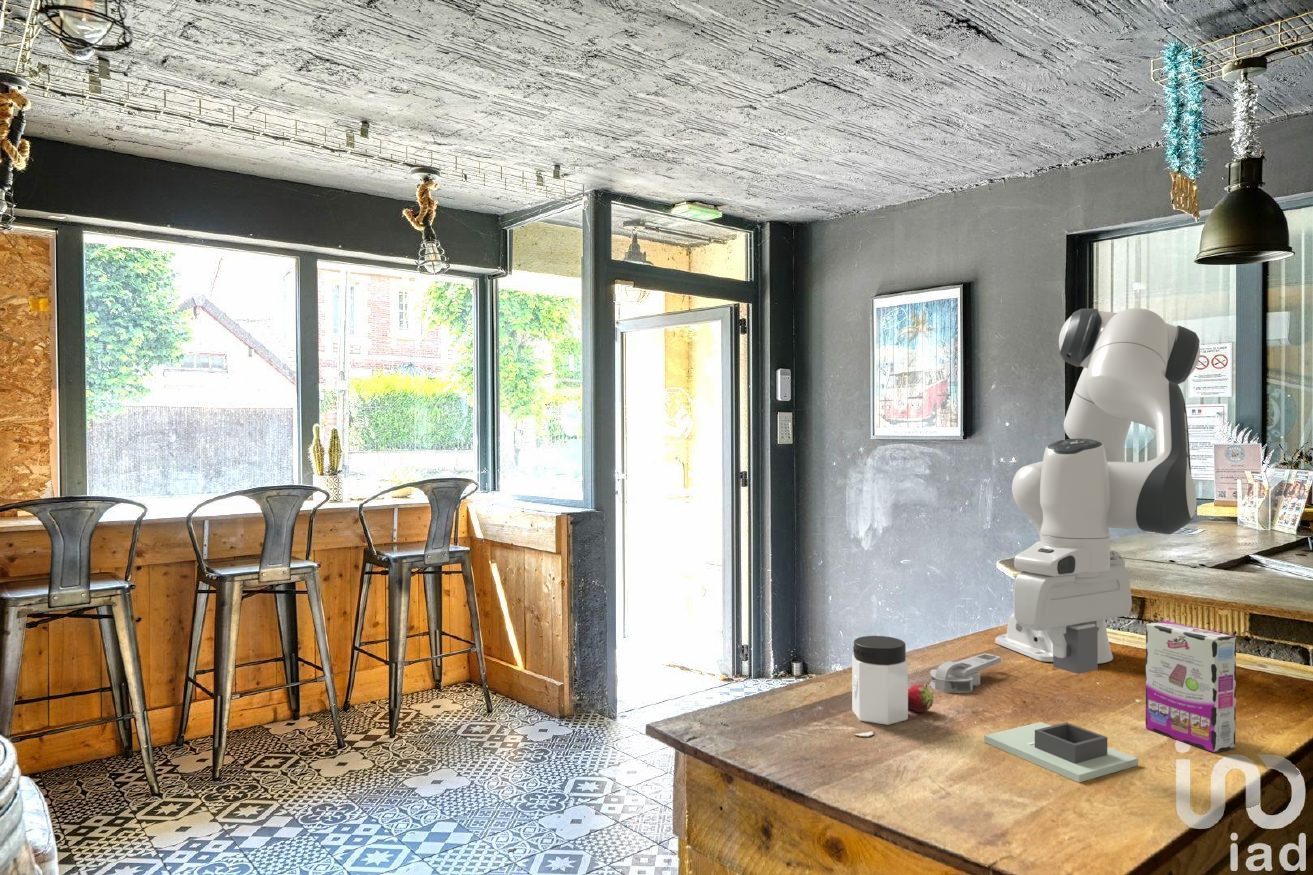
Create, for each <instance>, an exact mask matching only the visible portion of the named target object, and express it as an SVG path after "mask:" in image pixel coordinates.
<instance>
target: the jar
mask: <svg viewBox="0 0 1313 875" xmlns="http://www.w3.org/2000/svg"><path fill="white" fill-rule="evenodd" d="M906 646H907V645H906V643H905V641H903V640H902V639H899V638H896V637H893V636H892V637H891V636H884V635H865V636H860V637H857V638H855V639H854V641H853V648H852V649H853V650H852V652H853V654H852V655H851V687H852V688H851V697H852V699H851V701H852V703H851V709H852V712H853V713H854V715H855V716H856V718H857V719H858V720H859V721H860V722H865V723H866V722H867V723H870V724H871V723H874V724H880V725H883V726H884V725H885V726H889V725H893V724H897V723H900V722H903V721H904V722H905V721H907V720H909V708H908V689H909V662H908V660H907V659H906V658H907V657H906V656H907V654H906V652H907V651H906V650H907V649H906V648H907V647H906Z"/></svg>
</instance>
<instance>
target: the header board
mask: <svg viewBox="0 0 1313 875" xmlns="http://www.w3.org/2000/svg"><path fill="white" fill-rule="evenodd" d="M983 737H984V738H983V742H984V743H985V744H988V745H990V746H993V747H995V748H998V749H1000V750H1002V751H1004V752H1006V753H1009V754H1011V755H1014V756H1016V757H1019V758H1021V759H1023V760H1025V761H1028V762H1030V763H1032V764H1035V765H1037V766H1040V767H1041V768H1044V769H1047V770H1049V771H1051V772H1053V773H1055V774H1057V775H1060V776H1061V777H1062V776H1063V777H1065V778H1068V779H1070V780H1072V781H1074V782H1076V783H1082V782H1085V781H1088V780H1093V779H1096V778H1098V777H1103V776H1107V775H1110V774H1112V773H1116V772H1120V771H1123V770H1124V771H1125V770H1128V769H1130V768H1134V767H1137V766H1139V758H1138V757H1136V756H1133V755H1130V754H1129V753H1127V752H1123V751H1120V750H1118V749H1115V748H1112V747H1110V746H1108V736H1106V735H1102V734H1099V733H1097V732H1094V731H1091V730H1090V729H1085V728H1083V727H1081V726H1077V725H1074V724H1072V723H1069V722H1062V723H1058V724H1054V725H1050V724H1049V723H1045V722H1043V721H1039V722H1034V723H1031V724H1027V725H1022V726H1017V727H1013V728H1009V729H1005V730H1002V731H997V732H993V733H988V734H985V735H983Z"/></svg>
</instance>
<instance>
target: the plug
mask: <svg viewBox="0 0 1313 875" xmlns="http://www.w3.org/2000/svg"><path fill="white" fill-rule="evenodd" d="M1063 635H1064V638H1065V641H1066V643H1067V644H1070V645H1071V650H1070V652H1071V655H1070V656H1069V657H1065V658H1059V657H1056V656H1054V655H1053V662H1052V663H1053V665H1052V666H1053V668H1055V669H1056V668H1057V669H1060V670H1062V671H1066V672H1070V673H1074V674H1077V675H1080V674H1084V673H1090V672H1094V671H1098V667H1099V666H1098V665H1099V663H1098V631H1097V627H1096V626H1095V624H1093V623H1089V622H1087V623H1081V624H1075V625H1070V626H1066V634H1063Z"/></svg>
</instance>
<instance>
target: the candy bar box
mask: <svg viewBox="0 0 1313 875" xmlns="http://www.w3.org/2000/svg"><path fill="white" fill-rule="evenodd" d="M1236 681H1237V636H1236V635H1231V634H1226V633H1222V632H1217V631H1213V630H1209V629H1203V628H1199V627H1195V626H1190V625H1185V624H1181V623H1177V622H1172V621H1167V620H1165V621H1157V622H1151V623H1150V622H1149V623H1146V624H1145V729H1147V730H1149V731H1152V732H1154V733H1157V734H1160V735H1163V736H1166V737H1168V738H1171V739H1175V740H1176V741H1180V742H1183V743H1186V744H1189V745H1191V746H1194V747H1197V748H1200V749H1203V750H1206V751H1209V752H1211V753H1218V752H1223V751H1227V750H1232V749H1236V724H1237V723H1236V713H1237V712H1236V708H1237V707H1236V705H1237V704H1236V703H1237V702H1236V700H1237V696H1236V694H1237V692H1236V691H1237V690H1236V688H1237V687H1236V686H1237V684H1236V683H1237V682H1236Z"/></svg>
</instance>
